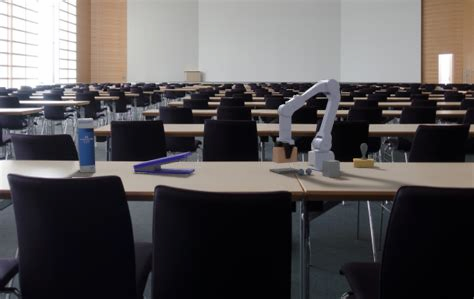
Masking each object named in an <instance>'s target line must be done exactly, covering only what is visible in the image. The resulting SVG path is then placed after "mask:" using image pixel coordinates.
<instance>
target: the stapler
mask: <svg viewBox="0 0 474 299" xmlns="http://www.w3.org/2000/svg"><path fill="white" fill-rule="evenodd" d="M190 156H192V151H187V152H183V153H178V154H173V155H170V156H166V157H165V156H164V157H160V158H156V159H152V160H147V161H142V162H139V163H136V164H134V165H133V166H132V167H133V169H134V170H133V171H134V172H147V173H146V174H166V175H167V174H169V175H170V174H172V175H174V174H175V175H189V173H190V174H192V173H193V172H195V170H196V169H195V168H178V167H177V168H175V167H174V168H172V167H171V168H170V167H162V166H163V165H167V164H168V165H169V164H173V163H179V162H182V161H184V160H187V159H189V157H190ZM191 172H192V173H191Z"/></svg>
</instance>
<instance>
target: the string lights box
mask: <svg viewBox="0 0 474 299" xmlns="http://www.w3.org/2000/svg"><path fill="white" fill-rule="evenodd" d="M76 119H77V125H76V126H77V144H78V145H77V148H78V162H79V163H78V164H79V165H78V166H79V172H80V174H82V173H96V172H97V170H96V169H97V168H96V151H95V150H96V149H95V148H96V147H95V127H94V126H95V125H94V119H93V118H92V117H89V118H87V117H86V118H76Z"/></svg>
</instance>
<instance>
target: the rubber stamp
mask: <svg viewBox="0 0 474 299" xmlns="http://www.w3.org/2000/svg"><path fill="white" fill-rule="evenodd" d="M360 151H361V154H362V157H361V158H353V159H352V160H353V163H352V164H353V168H375V160H374V159H373V158H367V157H366V154H367V151H368V145H367V143H361V144H360Z"/></svg>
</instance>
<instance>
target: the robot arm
mask: <svg viewBox="0 0 474 299" xmlns="http://www.w3.org/2000/svg"><path fill="white" fill-rule="evenodd" d="M340 88H341V85H340V84H339V82H338V80H336V79H334V78H331V79H326V78H324V79H321V80H319V81H317V82H316V83H315V84H314V85H312V87H310V88H308V89H307V90H306V91H305V92H303V93H302V94H301V95H300V94H296V95H295V94H294V95H293V96H292V98H291V99H290V100H287V101H285V104H281V105H279V107H278V109H276V112H277V114H278V116H279V117H278V118H279V119H278V120H279V121H278V122H279V123H278V129H279V130H278V136H279V137H276V142H275V147H284V150H285V157H286V159H290V158H291V154H292V151H293V148H294V147H296V144H295V140H294V139H292V116H293V114H294V113H295V111H297V110H299V109H300V108H302V107H303V106H304V105H305V103H306V101H307V100H308V99H310V98H312V97H313V96H315V95H316V94H318V93H323V94H324V95H325V96H326V98H327V99H328V101H327V104H326V108H325V111H324V115H323V119H322V122H321V125H320V128H319V130H318V132H317V133H316V135H315V137H314V138H313V140H311V141H312V142H311V147H312V146H313V147H314V166H313V167H310V169H311V170H315V171H321V172H322V162H323V160H335V154H334V152H333V151H331V148H332V146H333V145H332V138H333V137H332V134H331V133H332V129H333V125H334V122H335V119H336V116H337V113H338V109H339V105H340V102H341V98H342V97H341V91H340Z"/></svg>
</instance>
